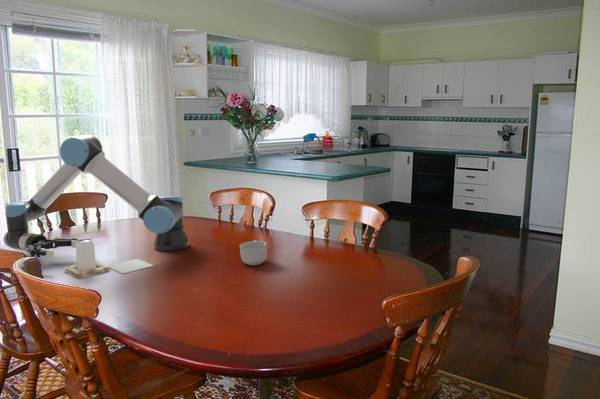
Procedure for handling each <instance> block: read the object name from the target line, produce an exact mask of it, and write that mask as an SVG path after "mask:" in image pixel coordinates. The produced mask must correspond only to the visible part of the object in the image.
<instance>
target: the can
mask: <svg viewBox="0 0 600 399" xmlns="http://www.w3.org/2000/svg"><path fill="white" fill-rule="evenodd" d="M95 250H96V249H95V243H94V241H93V239H92V238H85V239H84V238H83V239H79V240H78V239H77V244H76V248H75V252H76V254H75V255H76V265H77V266H78V271H80V272H84V271H88V270H92V269H96V251H95Z"/></svg>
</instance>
